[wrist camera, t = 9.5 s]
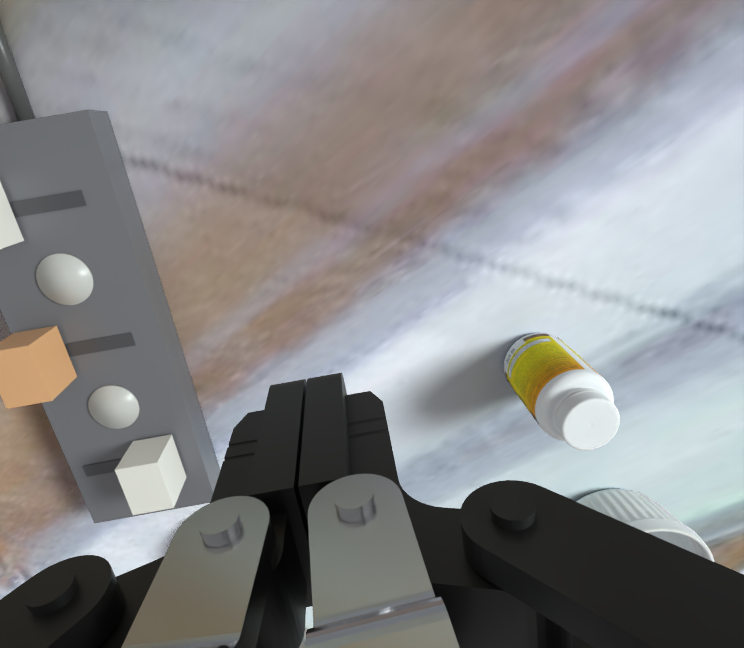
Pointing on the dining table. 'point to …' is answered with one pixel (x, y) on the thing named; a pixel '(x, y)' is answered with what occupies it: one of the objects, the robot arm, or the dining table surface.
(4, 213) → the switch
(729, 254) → the dining table surface
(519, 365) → the supplement bottle
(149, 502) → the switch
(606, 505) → the ramekin
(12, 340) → the switch middle
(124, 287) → the power strip
